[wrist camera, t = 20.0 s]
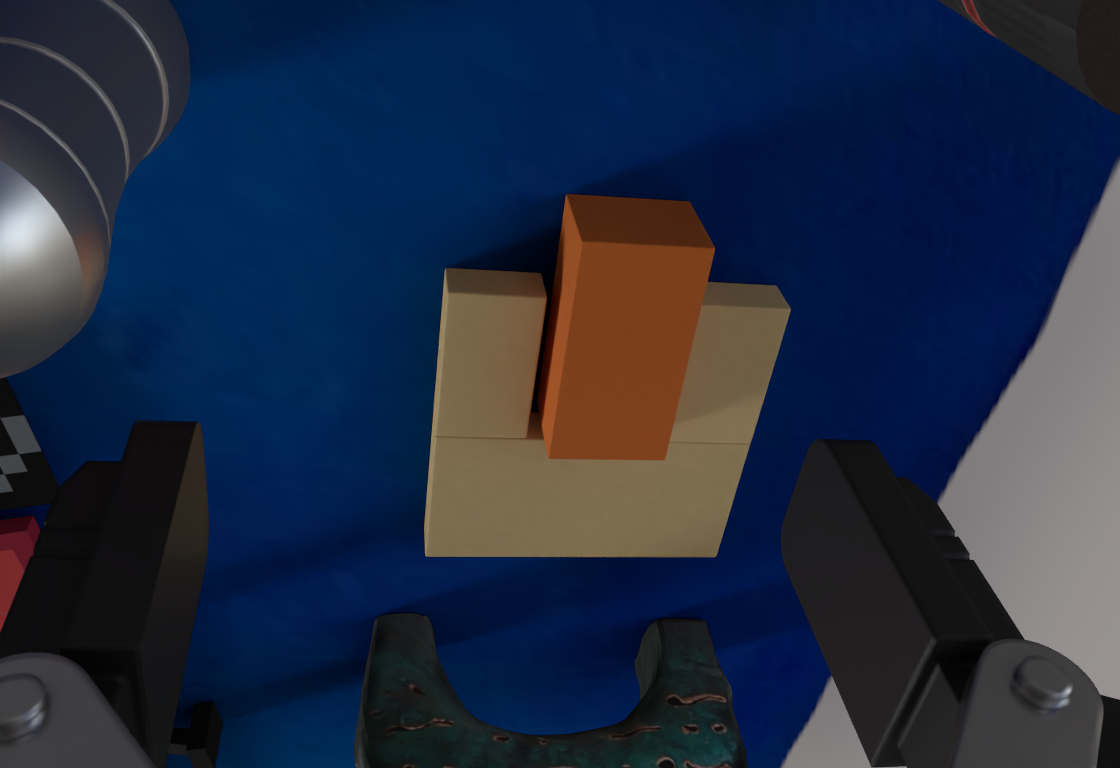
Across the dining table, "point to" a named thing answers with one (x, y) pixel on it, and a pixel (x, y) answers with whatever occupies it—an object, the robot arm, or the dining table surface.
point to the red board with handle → (6, 545)
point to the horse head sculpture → (546, 760)
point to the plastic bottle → (74, 151)
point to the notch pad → (581, 484)
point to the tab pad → (621, 326)
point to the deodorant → (1059, 38)
